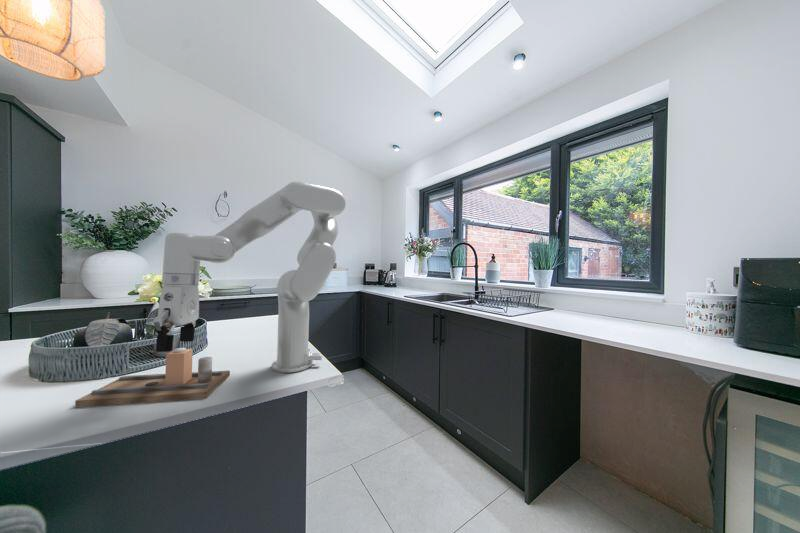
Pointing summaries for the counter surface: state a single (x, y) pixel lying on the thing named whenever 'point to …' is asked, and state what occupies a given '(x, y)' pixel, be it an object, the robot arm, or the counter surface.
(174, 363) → the block
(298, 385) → the counter surface
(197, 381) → the board
